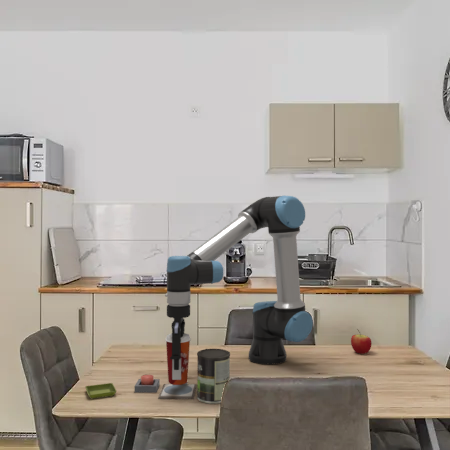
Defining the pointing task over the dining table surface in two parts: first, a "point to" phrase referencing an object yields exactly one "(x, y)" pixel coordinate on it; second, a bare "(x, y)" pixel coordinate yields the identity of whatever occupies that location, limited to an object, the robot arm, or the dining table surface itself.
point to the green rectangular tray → (100, 390)
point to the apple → (361, 343)
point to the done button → (147, 380)
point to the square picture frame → (178, 391)
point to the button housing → (147, 386)
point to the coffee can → (212, 374)
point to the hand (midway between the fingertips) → (178, 375)
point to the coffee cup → (184, 358)
